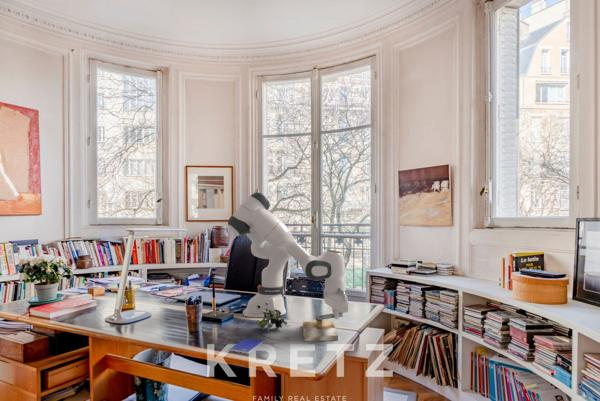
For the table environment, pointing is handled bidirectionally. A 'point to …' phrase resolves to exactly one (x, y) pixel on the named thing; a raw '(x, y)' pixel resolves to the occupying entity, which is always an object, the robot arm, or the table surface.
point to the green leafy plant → (271, 319)
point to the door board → (319, 331)
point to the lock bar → (326, 316)
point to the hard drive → (246, 345)
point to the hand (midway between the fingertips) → (336, 318)
